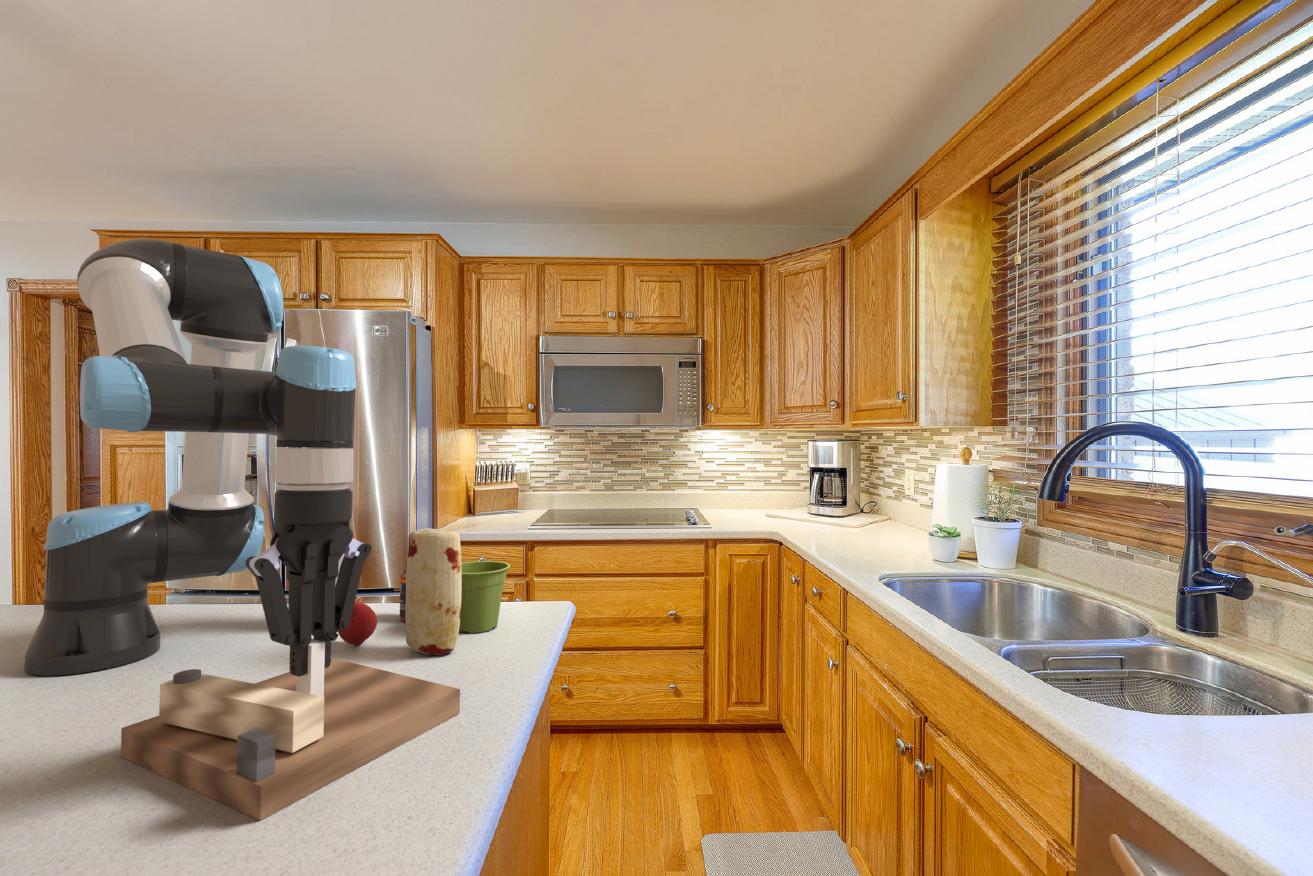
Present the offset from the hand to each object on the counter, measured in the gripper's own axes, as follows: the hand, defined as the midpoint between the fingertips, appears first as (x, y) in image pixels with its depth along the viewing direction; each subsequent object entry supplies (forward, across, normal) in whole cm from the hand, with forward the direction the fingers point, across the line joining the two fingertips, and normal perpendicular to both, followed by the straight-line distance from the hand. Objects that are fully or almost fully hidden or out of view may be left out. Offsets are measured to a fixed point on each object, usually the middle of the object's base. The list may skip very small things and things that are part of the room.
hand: (309, 701), depth 66 cm
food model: (+5, -28, -13) cm, 31 cm away
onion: (+5, -23, -26) cm, 35 cm away
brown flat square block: (+5, -1, -3) cm, 6 cm away
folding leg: (+2, +6, -3) cm, 6 cm away
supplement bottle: (+5, -39, -31) cm, 50 cm away
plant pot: (+5, -40, -17) cm, 44 cm away
